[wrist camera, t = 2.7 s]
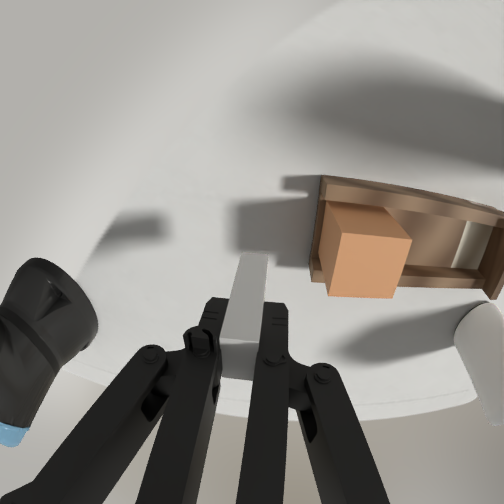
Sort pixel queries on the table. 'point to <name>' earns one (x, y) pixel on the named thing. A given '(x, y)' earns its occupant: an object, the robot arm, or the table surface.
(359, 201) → the chute
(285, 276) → the table surface
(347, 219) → the block
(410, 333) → the table surface
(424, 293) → the table surface
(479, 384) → the white bottle
